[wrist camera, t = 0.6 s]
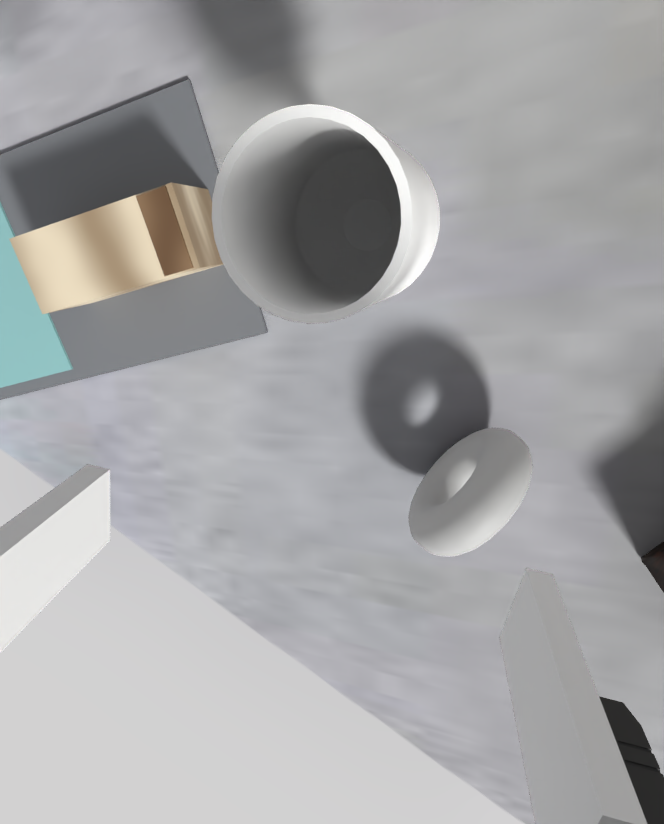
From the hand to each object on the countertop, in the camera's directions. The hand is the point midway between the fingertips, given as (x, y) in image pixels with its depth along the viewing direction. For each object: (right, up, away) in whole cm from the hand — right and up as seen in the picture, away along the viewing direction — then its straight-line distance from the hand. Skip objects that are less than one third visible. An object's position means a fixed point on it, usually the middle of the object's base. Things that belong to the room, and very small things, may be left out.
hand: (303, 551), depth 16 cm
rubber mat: (-19, +16, +23) cm, 34 cm away
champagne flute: (+4, +17, +18) cm, 25 cm away
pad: (-26, +14, +24) cm, 38 cm away
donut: (+11, +1, +23) cm, 26 cm away
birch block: (-13, +16, +21) cm, 30 cm away
